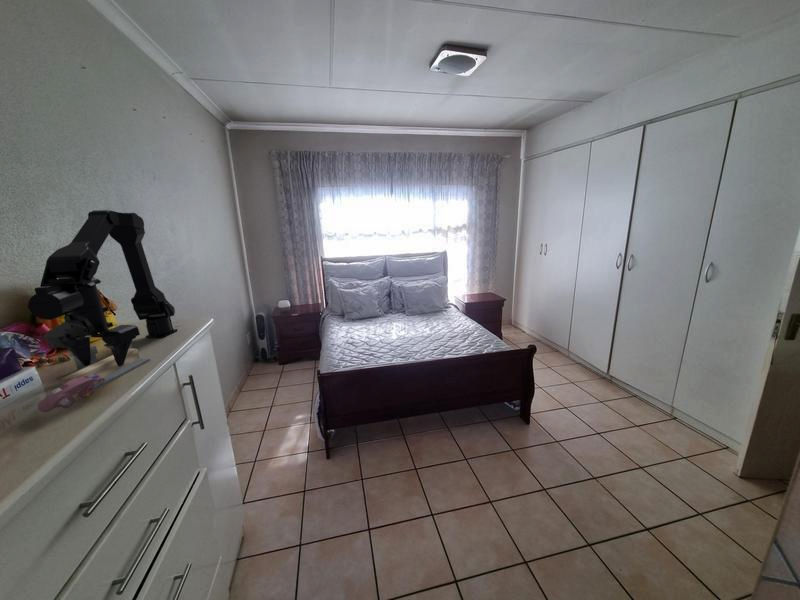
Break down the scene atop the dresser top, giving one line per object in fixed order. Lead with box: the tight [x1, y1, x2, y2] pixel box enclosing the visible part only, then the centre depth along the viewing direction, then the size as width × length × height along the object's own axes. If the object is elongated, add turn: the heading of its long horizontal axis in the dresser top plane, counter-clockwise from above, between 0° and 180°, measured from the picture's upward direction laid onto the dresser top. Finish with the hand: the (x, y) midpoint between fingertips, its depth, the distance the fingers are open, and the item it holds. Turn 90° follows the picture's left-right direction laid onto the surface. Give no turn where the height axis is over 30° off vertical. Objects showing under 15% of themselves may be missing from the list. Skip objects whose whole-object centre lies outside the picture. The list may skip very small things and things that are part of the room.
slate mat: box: [96, 358, 151, 390], centre depth 79 cm, size 16×9×1 cm, turn 175°
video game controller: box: [37, 373, 105, 413], centre depth 66 cm, size 10×5×7 cm
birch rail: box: [61, 348, 141, 385], centre depth 79 cm, size 16×3×3 cm, turn 175°
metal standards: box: [67, 343, 134, 371], centre depth 87 cm, size 12×6×6 cm, turn 175°
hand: (104, 365), depth 79 cm, fingers open, 9 cm apart
